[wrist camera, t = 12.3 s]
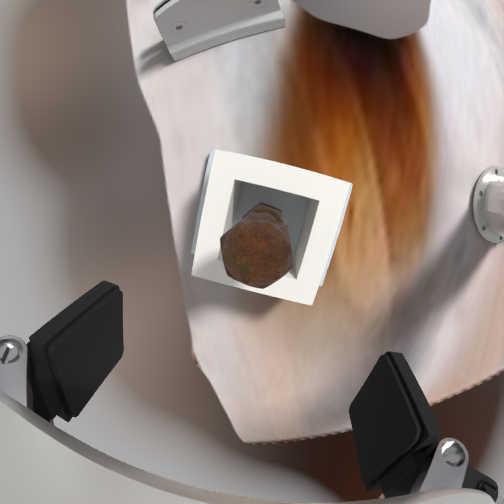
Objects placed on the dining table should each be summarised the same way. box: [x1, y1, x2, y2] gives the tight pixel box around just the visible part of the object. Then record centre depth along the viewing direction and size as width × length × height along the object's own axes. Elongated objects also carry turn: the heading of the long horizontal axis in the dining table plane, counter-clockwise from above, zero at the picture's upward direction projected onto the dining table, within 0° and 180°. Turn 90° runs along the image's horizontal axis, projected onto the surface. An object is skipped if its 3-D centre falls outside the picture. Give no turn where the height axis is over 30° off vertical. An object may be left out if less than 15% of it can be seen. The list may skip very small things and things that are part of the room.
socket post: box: [191, 148, 353, 305], centre depth 31 cm, size 18×14×8 cm
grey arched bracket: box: [153, 0, 286, 62], centre depth 24 cm, size 17×5×10 cm, turn 107°
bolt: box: [220, 202, 294, 289], centre depth 27 cm, size 6×5×15 cm
